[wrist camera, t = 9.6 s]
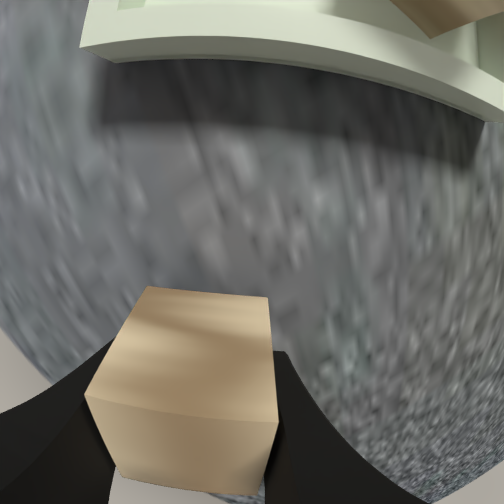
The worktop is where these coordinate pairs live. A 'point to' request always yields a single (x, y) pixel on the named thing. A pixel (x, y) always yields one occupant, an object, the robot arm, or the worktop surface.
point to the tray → (312, 43)
